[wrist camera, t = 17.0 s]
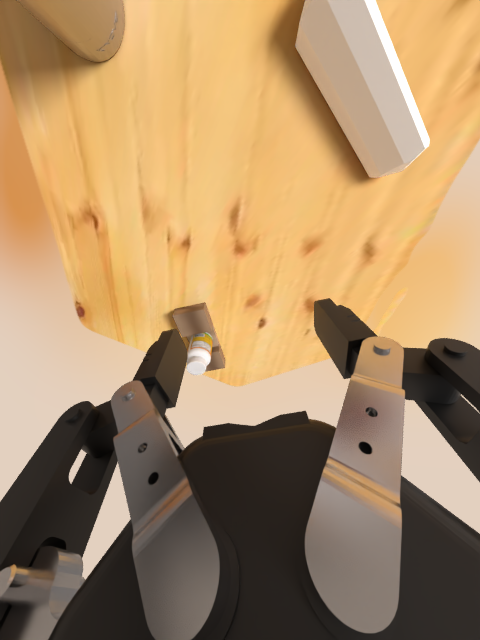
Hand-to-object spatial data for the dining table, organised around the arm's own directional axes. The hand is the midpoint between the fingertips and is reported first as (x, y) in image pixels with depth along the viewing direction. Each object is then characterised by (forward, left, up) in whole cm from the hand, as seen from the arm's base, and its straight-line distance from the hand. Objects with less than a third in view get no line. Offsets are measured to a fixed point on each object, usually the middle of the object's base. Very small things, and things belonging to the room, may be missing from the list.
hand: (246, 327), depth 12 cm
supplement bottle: (+12, -22, -30) cm, 39 cm away
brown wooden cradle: (+12, -22, -30) cm, 39 cm away
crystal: (-2, +25, -31) cm, 40 cm away
